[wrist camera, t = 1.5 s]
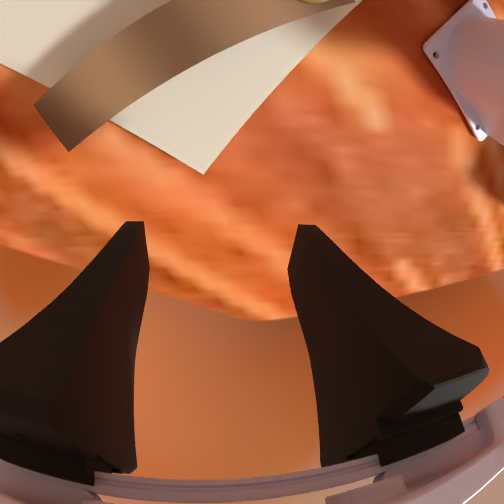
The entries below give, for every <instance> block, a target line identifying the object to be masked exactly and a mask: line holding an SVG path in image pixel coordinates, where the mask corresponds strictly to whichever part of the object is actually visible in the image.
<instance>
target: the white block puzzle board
mask: <svg viewBox="0 0 504 504" xmlns="http://www.w3.org/2000/svg"><path fill="white" fill-rule="evenodd" d="M169 1H171V0H0V64H2V65H4V66H7V67H9V68H11V69H13V70H15V71H17V72H19V73H21V74H23V75H25V76H27V77H29V78H31V79H33V80H35V81H37V82H39V83H41V84H43V85H45V86H47V87H49V88H51V87H53V86H54V85H55V84H56V83H57V82H58V81H59V80H60V79H61V78H62V77H63V76H65V75H66V74H67V73H68V72H69V71H70V70H71V69H72V68H74V67H75V66H76V65H77V64H78V63H80V62H81V61H82V60H83V59H84V58H86V57H87V56H88V55H89V54H91V53H92V52H93V51H94V50H96V49H97V48H98V47H100V46H101V45H102V44H104V43H105V42H106V41H108V40H109V39H110V38H112V37H113V36H115V35H116V34H118V33H119V32H120V31H122V30H123V29H125V28H126V27H128V26H129V25H131V24H132V23H134V22H135V21H137V20H138V19H140V18H142V17H143V16H145V15H146V14H148V13H150V12H151V11H153V10H155V9H156V8H158V7H160V6H162V5H163V4H165V3H167V2H169ZM361 1H362V0H355V3H351V4H347V5H343V6H339V7H336V8H332V9H329V10H325V11H322V12H319V13H316V14H313V15H309V16H306V17H303V18H301V19H298V20H295V21H292V22H289V23H286V24H284V25H281V26H279V27H276V28H273V29H271V30H268V31H266V32H263V33H261V34H259V35H256V36H254V37H252V38H249V39H247V40H245V41H243V42H240V43H238V44H236V45H234V46H232V47H230V48H227V49H225V50H223V51H221V52H219V53H217V54H215V55H213V56H211V57H209V58H207V59H205V60H204V61H202V62H200V63H198V64H196V65H194V66H192V67H191V68H189V69H187V70H185V71H183V72H182V73H180V74H178V75H176V76H175V77H173V78H171V79H170V80H168V81H166V82H165V83H163V84H161V85H160V86H158V87H157V88H155V89H153V90H152V91H150V92H149V93H147V94H146V95H144V96H143V97H141V98H139V99H138V100H136V101H135V102H134V103H132V104H131V105H129V106H128V107H126V108H125V109H123V110H122V111H121V112H119V113H118V114H116V115H115V116H114V117H112V118H111V119H110V121H112V122H114V123H116V124H117V125H119V126H121V127H123V128H124V129H126V130H128V131H130V132H132V133H133V134H135V135H137V136H139V137H140V138H142V139H144V140H146V141H147V142H149V143H151V144H153V145H154V146H156V147H158V148H159V149H161V150H163V151H165V152H166V153H168V154H170V155H171V156H173V157H175V158H177V159H178V160H180V161H182V162H183V163H185V164H187V165H188V166H190V167H192V168H193V169H195V170H197V171H198V172H200V173H202V174H204V173H205V171H206V170H207V169H208V168H209V166H210V165H211V164H212V162H213V161H214V160H215V159H216V157H217V156H218V155H219V154H220V152H221V151H222V150H223V149H224V147H225V146H226V145H227V144H228V142H229V141H230V140H231V139H232V138H233V136H234V135H235V134H236V133H237V132H238V130H239V129H240V128H241V127H242V126H243V124H244V123H245V122H246V121H247V120H248V118H249V117H250V116H251V115H252V114H253V113H254V111H255V110H256V109H257V108H258V107H259V106H260V105H261V103H262V102H263V101H264V100H265V99H266V98H267V97H268V95H269V94H270V93H271V92H272V91H273V90H274V89H275V88H276V87H277V85H278V84H279V83H280V82H281V81H282V80H283V79H284V78H285V77H286V76H287V75H288V73H289V72H290V71H291V70H292V69H293V68H294V67H295V66H296V65H297V64H298V63H299V62H300V61H301V60H302V59H303V58H304V57H305V56H306V54H307V53H308V52H309V51H310V50H311V49H312V48H313V47H314V46H315V45H316V44H317V43H318V42H319V41H320V40H321V39H322V38H323V37H324V36H325V35H326V34H327V33H328V32H329V31H330V30H331V29H332V28H333V27H335V26H336V25H337V24H338V23H339V22H340V21H341V20H342V19H343V18H344V17H345V16H346V15H347V14H348V13H349V12H350V11H351V10H353V9H354V8H355V7H356V6H357V5H358V4H359V3H360V2H361Z"/></svg>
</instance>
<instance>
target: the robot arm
mask: <svg viewBox="0 0 504 504" xmlns="http://www.w3.org/2000/svg"><path fill="white" fill-rule="evenodd" d="M483 4H484V7H483ZM423 51H424V53H425V54H426V55H427V57H428V58H429V60H430V61H431V63H432V64H433V65H434V67H435V68H436V70H437V71H438V73H439V74H440V76H441V78H442V79H443V81H444V82H445V84H446V85H447V87H448V89H449V90H450V92H451V94H452V95H453V97H454V99H455V100H456V102H457V104H458V106H459V107H460V109H461V111H462V113H463V114H464V116H465V118H466V120H467V122H468V124H469V126H470V128H471V130H472V132H473V134H474V136H475V138H476V139H477V140H479V141H483V140H484V139H485V138H486V137H487V135H488V136H490V137H491V138H493V139H494V140H496V141H497V142H498V143H500V144H501V145H503V146H504V20H500V19H497V18H496V17H495V15H494V13H493V11H492V9H491V8H490V6H489V4H488V3H487V1H486V0H469V1H468V2H467V3H466V4H465V5H463V6H462V7H461V8H460V9H459V10H458V11H457V12H456V13H455V14H454V15H453V16H452V17H451V18H450V19H449V20H448V21H447V22H446V23H445V24H444V25H443V26H442V27H440V28H439V29H438V30H437V31H436V32H435V33H434V34H433V35H432V36H431V37H430V38H429V39H428V40H427V41H426V42H425V43H424V45H423ZM434 52H435V57H433V53H434ZM476 125H477V126H476ZM149 269H150V267H149V260H148V252H147V245H146V237H145V228H144V221H126V222H125V223H124V224H123V225H122V226H121V228H120V229H119V230H118V231H117V232H116V233H115V235H114V236H113V237H112V238H111V239H110V240H109V242H108V243H107V244H106V245H105V246H104V248H103V249H102V250H101V251H100V252H99V253H98V254H97V256H96V257H95V258H94V259H93V260H92V261H91V263H90V264H89V265H88V266H87V267H86V268H85V269H84V270H83V271H82V272H81V273H80V275H79V276H78V277H77V278H76V279H75V280H74V281H73V282H72V283H71V284H70V285H69V286H68V287H67V288H66V289H65V290H64V291H63V292H62V293H61V294H60V295H59V296H58V297H57V298H56V299H54V301H52V302H51V303H50V304H49V305H48V306H47V307H46V308H44V309H43V310H42V311H41V312H39V313H38V314H37V315H36V316H35V317H33V318H32V319H31V320H30V321H29V322H28V323H26V324H25V325H24V326H22V327H21V328H20V329H18V330H17V331H16V332H14V333H13V334H12V335H10V336H9V337H8V338H6V339H5V340H3V341H2V342H0V504H111V503H106V502H103V501H102V500H101V498H100V497H99V496H98V495H97V494H100V495H107V496H112V497H119V498H127V499H135V500H144V501H145V500H146V501H156V502H157V501H158V502H175V503H224V502H242V501H253V500H263V499H272V498H279V497H286V496H292V495H298V494H304V493H309V492H314V491H319V490H324V489H328V488H333V487H337V486H341V485H345V484H348V483H352V482H356V481H359V480H363V479H366V478H370V477H373V476H376V475H377V476H376V477H375V478H374V481H373V483H372V484H369V485H366V486H363V487H359V488H356V489H353V490H349V491H347V492H343V493H340V494H336V495H333V496H329V497H326V499H325V501H326V504H464V503H466V502H467V501H468V500H469V499H470V498H472V497H473V496H474V495H475V494H476V493H478V492H479V491H480V490H481V489H482V488H483V487H485V486H486V485H487V484H488V483H489V482H490V481H491V480H492V479H493V478H494V477H495V476H496V475H497V474H498V473H500V472H501V471H502V470H503V469H504V396H503V397H501V398H500V399H498V400H496V401H494V402H492V403H491V404H489V405H488V406H486V407H485V408H483V409H482V410H480V411H479V412H478V413H476V415H474V416H473V417H470V418H468V419H466V420H464V421H462V420H461V418H460V415H459V413H458V412H460V411H462V410H463V406H462V403H461V401H460V400H461V399H462V398H463V397H465V396H466V395H467V394H469V393H470V392H471V391H472V390H473V389H475V388H476V387H477V386H478V385H479V384H480V383H481V382H482V381H483V380H484V379H485V378H486V377H487V375H488V373H489V368H488V365H487V363H486V361H485V359H484V357H483V355H482V353H481V351H480V349H479V348H478V347H477V346H475V345H473V344H471V343H468V342H467V341H465V340H462V339H460V338H458V337H456V336H454V335H452V334H450V333H449V332H447V331H445V330H443V329H441V328H440V327H438V326H436V325H434V324H433V323H431V322H430V321H428V320H426V319H424V318H423V317H421V316H420V315H418V314H417V313H416V312H414V311H412V310H411V309H410V308H408V307H407V306H405V305H404V304H402V303H401V302H400V301H399V300H397V299H396V298H395V297H393V296H392V295H391V294H390V293H388V292H387V291H386V290H384V289H383V288H382V287H381V286H380V285H378V284H377V283H376V282H375V281H374V280H373V279H372V278H371V277H369V276H368V275H367V274H366V273H365V272H364V271H363V270H362V269H361V268H359V267H358V266H357V265H356V264H355V263H354V262H353V261H352V260H351V259H350V258H349V257H348V256H347V255H346V254H345V253H344V252H343V251H342V250H341V249H340V248H339V247H338V246H337V245H336V244H335V243H334V242H333V241H332V240H331V239H330V238H329V237H328V236H327V235H326V234H325V233H324V232H322V231H321V230H320V229H319V228H318V227H317V226H316V225H300V224H298V229H297V233H296V237H295V241H294V245H293V249H292V253H291V257H290V261H289V265H288V276H289V282H290V288H291V294H292V297H293V301H294V304H295V308H296V311H297V314H298V318H299V321H300V324H301V328H302V331H303V334H304V338H305V341H306V345H307V349H308V353H309V357H310V362H311V368H312V374H313V381H314V387H315V395H316V402H317V413H318V424H319V439H320V462H321V467H322V468H317V469H312V470H307V471H300V472H294V473H287V474H280V475H272V476H263V477H253V478H239V479H219V480H176V479H156V478H143V477H133V476H124V475H116V474H112V473H119V474H122V473H126V474H130V473H131V472H133V471H134V470H135V469H136V468H137V460H136V449H135V434H134V370H135V369H134V368H135V356H136V348H137V343H138V337H139V332H140V327H141V321H142V316H143V312H144V307H145V302H146V296H147V290H148V280H149ZM94 493H95V494H94Z"/></svg>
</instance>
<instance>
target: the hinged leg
mask: <svg viewBox="0 0 504 504" xmlns="http://www.w3.org/2000/svg"><path fill="white" fill-rule="evenodd" d="M351 3H355V0H171V1H169V2H167V3H165V4H163V5H162V6H160V7H158V8H156V9H155V10H153V11H151V12H150V13H148V14H146V15H145V16H143V17H142V18H140V19H138V20H137V21H135V22H134V23H132V24H131V25H129V26H128V27H126V28H125V29H123V30H122V31H120V32H119V33H118V34H116V35H115V36H113V37H112V38H110V39H109V40H108V41H106V42H105V43H104V44H102V45H101V46H100V47H98V48H97V49H96V50H94V51H93V52H92V53H91V54H89V55H88V56H87V57H86V58H84V59H83V60H82V61H81V62H80V63H78V64H77V65H76V66H75V67H74V68H72V69H71V70H70V71H69V72H68V73H67V74H66V75H65V76H63V77H62V78H61V79H60V80H59V81H58V82H57V83H56V84H55V85H54V86H53V87H51V88H50V89H49V90H48V91H47V92H46V93H45V94H44V95H43V96H42V97H41V98H40V99H39V100H38V101H37V102H36V103H35V104H34V106H35V107H36V109H37V110H38V112H39V113H40V114H41V116H42V117H43V119H44V120H45V121H46V123H47V124H48V125H49V127H50V128H51V129H52V131H53V132H54V134H55V135H56V136H57V138H58V139H59V140H60V141H61V143H62V144H63V145H64V147H65V148H66V149H67V151H68V152H69V151H70V150H72V149H73V148H74V147H75V146H76V145H78V144H79V143H80V142H81V141H82V140H84V139H85V138H86V137H87V136H89V135H90V134H91V133H92V132H94V131H95V130H96V129H98V128H99V127H100V126H102V125H103V124H104V123H106V122H107V121H108V120H110V119H111V118H112V117H114V116H115V115H116V114H118V113H119V112H121V111H122V110H123V109H125V108H126V107H128V106H129V105H131V104H132V103H134V102H135V101H136V100H138V99H139V98H141V97H143V96H144V95H146V94H147V93H149V92H150V91H152V90H153V89H155V88H157V87H158V86H160V85H161V84H163V83H165V82H166V81H168V80H170V79H171V78H173V77H175V76H176V75H178V74H180V73H182V72H183V71H185V70H187V69H189V68H191V67H192V66H194V65H196V64H198V63H200V62H202V61H204V60H205V59H207V58H209V57H211V56H213V55H215V54H217V53H219V52H221V51H223V50H225V49H227V48H230V47H232V46H234V45H236V44H238V43H240V42H243V41H245V40H247V39H249V38H252V37H254V36H256V35H259V34H261V33H263V32H266V31H268V30H271V29H273V28H276V27H279V26H281V25H284V24H286V23H289V22H292V21H295V20H298V19H301V18H303V17H306V16H309V15H313V14H316V13H319V12H322V11H325V10H329V9H332V8H336V7H339V6H343V5H347V4H351Z"/></svg>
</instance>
